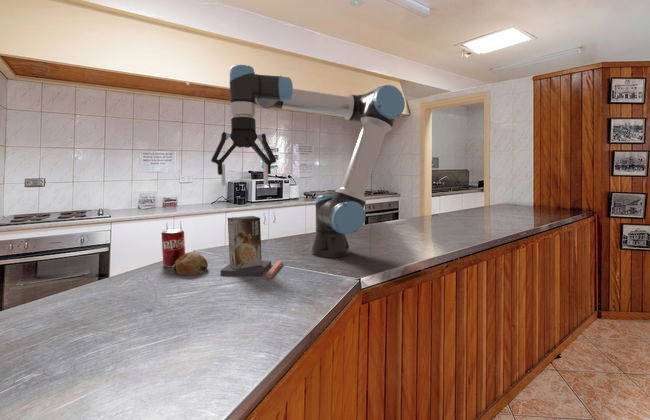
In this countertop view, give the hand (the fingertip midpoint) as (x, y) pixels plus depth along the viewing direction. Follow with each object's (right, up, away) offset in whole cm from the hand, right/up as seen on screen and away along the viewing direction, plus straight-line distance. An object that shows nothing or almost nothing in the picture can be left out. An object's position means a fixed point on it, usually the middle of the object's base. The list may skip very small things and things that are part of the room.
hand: (245, 185), depth 114 cm
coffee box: (-1, -27, +3) cm, 27 cm away
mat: (0, -28, +3) cm, 28 cm away
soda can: (-27, -27, +9) cm, 40 cm away
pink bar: (+9, -28, +2) cm, 30 cm away
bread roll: (-18, -28, +2) cm, 34 cm away
